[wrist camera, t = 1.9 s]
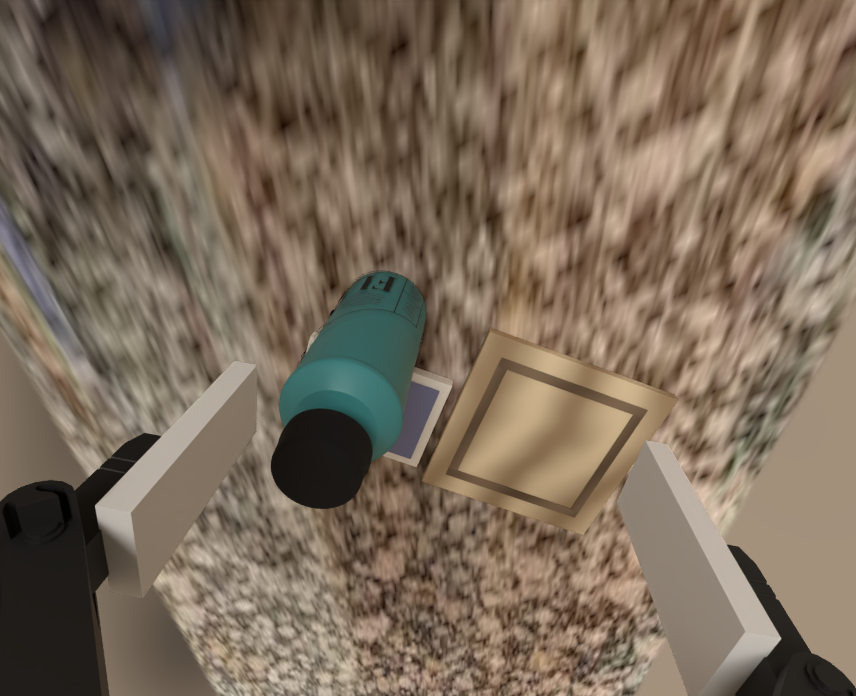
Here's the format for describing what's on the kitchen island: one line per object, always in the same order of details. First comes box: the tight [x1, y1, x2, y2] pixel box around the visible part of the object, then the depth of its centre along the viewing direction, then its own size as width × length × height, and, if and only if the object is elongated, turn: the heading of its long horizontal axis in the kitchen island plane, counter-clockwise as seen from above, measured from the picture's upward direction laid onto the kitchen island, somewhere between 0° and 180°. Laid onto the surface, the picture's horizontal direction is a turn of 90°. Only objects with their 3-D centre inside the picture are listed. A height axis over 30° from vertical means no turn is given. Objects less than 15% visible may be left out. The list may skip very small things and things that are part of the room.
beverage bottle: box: [271, 271, 426, 509], centre depth 29 cm, size 6×7×20 cm
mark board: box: [422, 328, 678, 535], centre depth 42 cm, size 16×16×1 cm
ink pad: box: [306, 332, 453, 467], centre depth 41 cm, size 12×9×1 cm
